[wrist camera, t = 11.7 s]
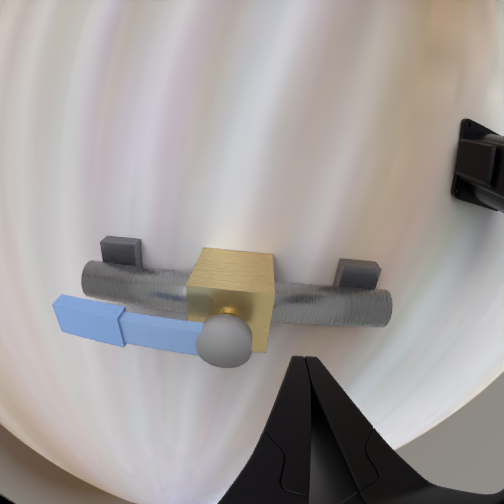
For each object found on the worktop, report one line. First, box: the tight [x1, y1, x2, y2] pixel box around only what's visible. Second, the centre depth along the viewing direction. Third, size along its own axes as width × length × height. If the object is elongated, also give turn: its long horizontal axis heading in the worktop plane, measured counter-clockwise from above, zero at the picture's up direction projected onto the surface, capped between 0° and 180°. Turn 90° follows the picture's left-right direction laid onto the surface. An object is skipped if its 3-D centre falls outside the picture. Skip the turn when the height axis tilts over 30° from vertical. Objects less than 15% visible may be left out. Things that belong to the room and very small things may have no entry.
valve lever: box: [52, 294, 252, 368], centre depth 15 cm, size 12×3×1 cm, turn 86°
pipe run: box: [81, 236, 392, 353], centre depth 18 cm, size 22×5×6 cm, turn 85°
